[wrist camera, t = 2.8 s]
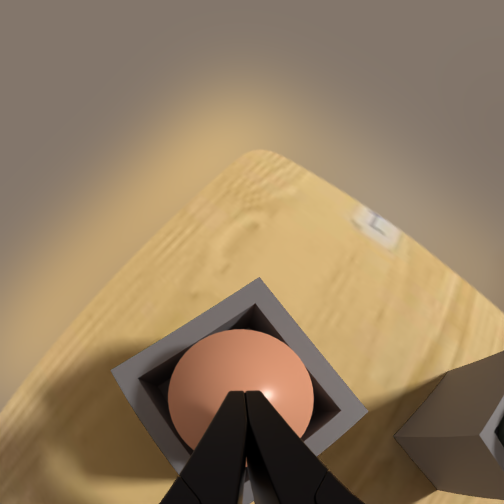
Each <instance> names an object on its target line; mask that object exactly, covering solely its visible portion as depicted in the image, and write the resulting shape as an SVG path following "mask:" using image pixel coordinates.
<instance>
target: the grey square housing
mask: <svg viewBox="0 0 504 504" xmlns="http://www.w3.org/2000/svg"><path fill="white" fill-rule="evenodd" d="M234 329H245V330H254V331H258V332H262V333H265V334H268V335H270V336H272V337H274V338H276V339H278V340H280V341H281V342H283V343H284V344H286V345H287V346H288V347H289V348H291V349H292V350H293V351H294V352H295V353H296V354H297V356H298V357H299V358H300V359H301V361H302V362H303V364H304V365H305V367H306V369H307V371H308V373H309V376H310V379H311V382H312V387H313V396H314V402H313V411H312V416H311V419H310V422H309V424H308V426H307V428H306V430H305V432H304V434H303V435H302V437H301V439H302V441H303V442H304V443H305V444H306V445H307V446H308V447H309V449H310V450H311V451H312V452H313V453H314V454H315V455H316V456H318V455H319V454H320V453H322V452H323V451H324V450H325V449H327V448H328V447H329V446H330V445H331V444H333V443H334V442H335V441H336V440H337V439H339V438H340V437H341V436H342V435H343V434H344V433H346V432H347V431H348V430H349V429H350V428H351V427H352V426H353V425H354V424H356V423H357V422H358V421H359V420H360V419H361V418H362V417H363V416H364V415H365V414H366V413H367V412H368V410H367V409H366V408H365V407H364V405H363V404H362V403H361V402H360V401H359V399H358V398H357V397H356V396H355V394H354V393H353V392H352V391H351V390H350V388H349V387H348V386H347V385H346V383H345V382H344V381H343V380H342V379H341V377H340V376H339V375H338V374H337V372H336V371H335V370H334V369H333V368H332V366H331V365H330V364H329V363H328V361H327V360H326V359H325V358H324V356H323V355H322V354H321V353H320V352H319V350H318V349H317V348H316V347H315V345H314V344H313V343H312V342H311V340H310V339H309V338H308V337H307V336H306V334H305V333H304V332H303V331H302V329H301V328H300V327H299V326H298V324H297V323H296V322H295V321H294V319H293V318H292V317H291V316H290V315H289V313H288V312H287V311H286V310H285V308H284V307H283V306H282V305H281V303H280V302H279V301H278V300H277V298H276V297H275V296H274V295H273V293H272V292H271V291H270V290H269V288H268V287H267V286H266V285H265V283H264V282H263V281H262V280H261V278H260V277H259V278H257V279H256V280H254V281H252V282H251V283H249V284H248V285H246V286H245V287H243V288H242V289H240V290H238V291H237V292H235V293H234V294H232V295H231V296H229V297H228V298H226V299H224V300H223V301H221V302H220V303H218V304H217V305H215V306H213V307H212V308H210V309H209V310H207V311H206V312H204V313H202V314H201V315H199V316H198V317H196V318H194V319H193V320H191V321H190V322H188V323H187V324H185V325H183V326H182V327H180V328H179V329H177V330H175V331H174V332H172V333H170V334H169V335H167V336H166V337H164V338H162V339H161V340H159V341H158V342H156V343H154V344H153V345H151V346H149V347H148V348H146V349H145V350H143V351H141V352H140V353H138V354H136V355H135V356H133V357H131V358H130V359H128V360H127V361H125V362H123V363H122V364H120V365H118V366H117V367H115V368H113V369H112V370H111V372H112V374H113V376H114V378H115V379H116V381H117V383H118V385H119V387H120V388H121V390H122V392H123V393H124V395H125V397H126V398H127V400H128V402H129V403H130V405H131V407H132V408H133V410H134V411H135V413H136V415H137V416H138V418H139V419H140V421H141V422H142V424H143V425H144V427H145V428H146V430H147V431H148V433H149V434H150V436H151V437H152V439H153V440H154V442H155V443H156V444H157V446H158V447H159V449H160V450H161V451H162V453H163V454H164V456H165V457H166V458H167V460H168V461H169V462H170V464H171V465H172V466H173V468H174V469H175V470H176V472H177V473H178V474H180V472H181V471H182V469H183V467H184V466H185V464H186V462H187V461H188V459H189V458H190V456H191V454H192V453H193V451H194V450H193V449H192V448H191V447H190V446H188V445H187V444H186V442H185V441H184V440H183V439H182V438H181V436H180V435H179V433H178V431H177V430H176V428H175V426H174V424H173V421H172V418H171V415H170V411H169V405H168V391H169V384H170V380H171V377H172V374H173V372H174V369H175V367H176V365H177V364H178V362H179V361H180V359H181V358H182V357H183V355H184V354H185V353H186V352H187V351H188V350H189V349H190V348H191V347H192V346H193V345H195V344H196V343H198V342H199V341H200V340H202V339H204V338H206V337H208V336H210V335H213V334H215V333H218V332H222V331H227V330H234ZM253 501H254V497H253V493H252V488H251V483H250V479H249V474H248V468H247V467H246V472H245V482H244V492H243V502H242V504H249V503H251V502H253Z"/></svg>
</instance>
